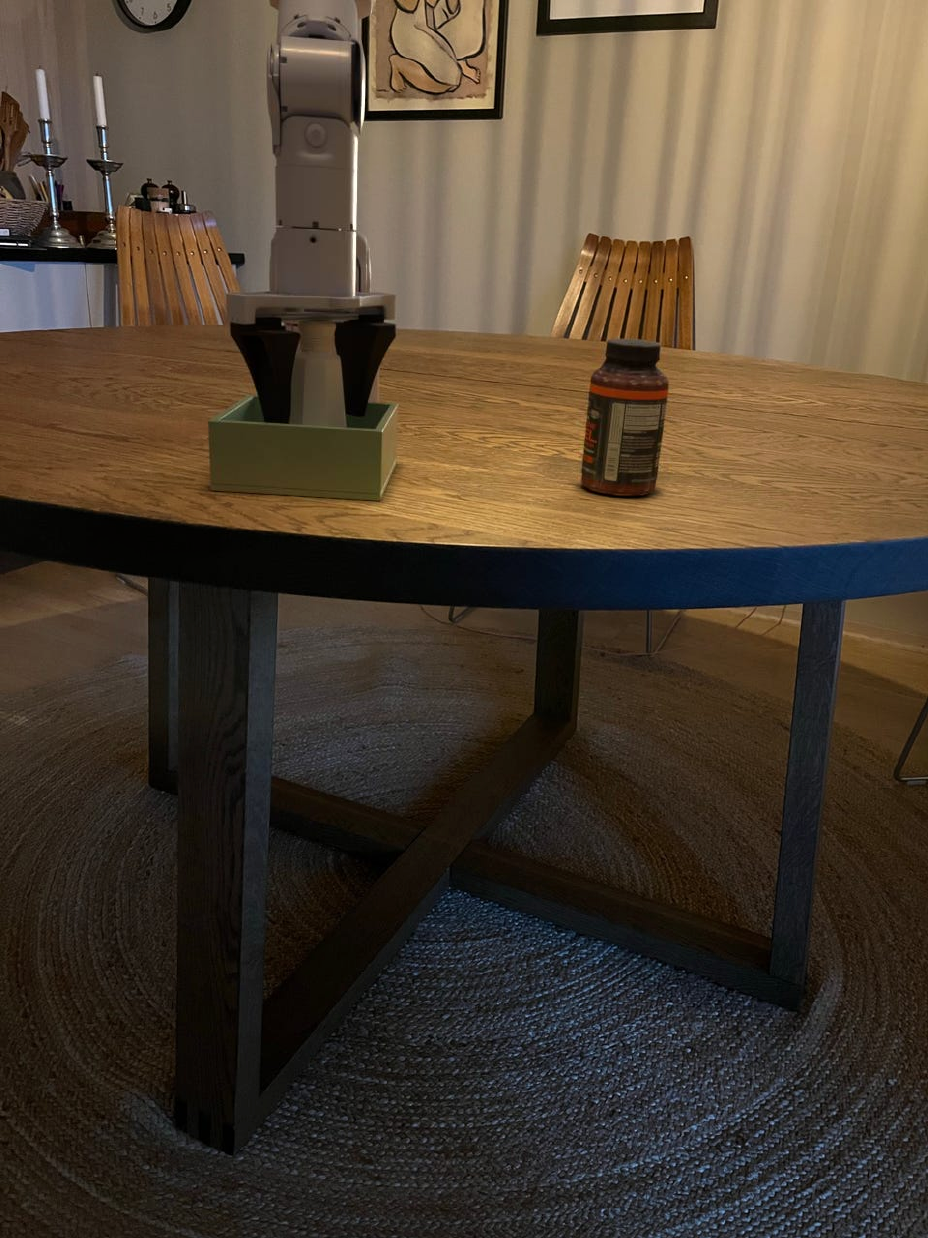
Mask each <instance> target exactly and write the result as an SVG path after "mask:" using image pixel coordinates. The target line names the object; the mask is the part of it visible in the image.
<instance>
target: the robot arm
mask: <svg viewBox="0 0 928 1238" xmlns="http://www.w3.org/2000/svg"><path fill="white" fill-rule="evenodd" d="M376 1H377V0H269V5H270V7H272V8H273V9H275V10H277V11H278V12H277V27H276V30H277V31H276V41H275V42H276V43H275V44H274V45H272V43H269V44H268V47H267V52H266V99H267V112H268V117H269V121H270V129H271V145H272V148H271V149H272V155H274V158H275V163H276V164H275V166H274V174H275V175H274V176H275V177H274V179H275V181H274V183H275V186H274V187H275V232H274V234H273V238H271V241H270V255H269V256H270V257H269V266H268V267H269V268H268V269H269V273H268V274H269V276H268V277H269V278H268V279H269V280H268V281H269V285H268V287H269V290H268V291H250V292H227V293H226V294H225V305H226V322H227V323H229V333H230V336H231V338H232V340H233V342H234V343H235V345H236V346H237V348H238V350H239V352H240V354H241V356H242V358H243V360H244V362H245V364H246V367H247V369H248V371H249V374H250V376H251V380H252V381H253V384H254V388H255V391H256V395H258V398H259V402H260V406H261V409H262V414H263V418H264V422H265V423H280V424H289V420H290V413H291V379H292V372H293V365H294V360H295V355H296V354H297V353H300V352H301V349H299V347H300V342H299V341H300V338H301V334H300V332H299V328H298V322H299V321H328V320H329V321H332V322H334V323H335V324H336V329H335V333H334V336H335V338H334V339H335V340H334V342H335V343H334V351H333V354H336V355H339V356H340V359H341V366H342V378H343V390H344V401H345V413H346V414H347V415H352V416H356V417H364V416H365V412H366V408H367V404H368V402H379V401H380V400H379V397H380V392H379V391H380V366H381V364H382V362H383V360H384V357H385V356H386V353H387V352H388V350H389V349H390V347H391V345H392V343H393V342H394V340H395V338H396V337H397V324H396V323H391V322H385V321H394V320H396V303H397V302H396V301H397V299H396V298H397V295H396V293H387V292H380V291H379V292H378V291H373V292H372V262H371V259H370V258H371V246H370V244H369V243H368V239H367V237H366V236H365V235H364V234H363V233H362V232H361V231H360V230H358V229H357V211H358V210H357V207H358V206H357V205H358V202H357V201H358V200H357V199H358V196H357V195H358V144H359V141H358V140H359V139H358V136H360V135H361V133H362V129H363V125H364V121H365V108H366V106H365V105H366V100H365V99H366V58H365V53H364V47H363V42H362V39H361V38H360V37H358V35H359V33H358V31H359V30H358V21H361V20H363V19H365V18H367V17H369V16H370V15H372V14H373V5H374V4H375V3H376ZM353 123H354V125H355V126H356V127H357V129H358V131H357V133H358V136H357V135H356V134H355V132H354V131H353V130H352V129H351V124H353ZM379 403H380V402H379Z"/></svg>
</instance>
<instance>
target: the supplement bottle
mask: <svg viewBox="0 0 928 1238" xmlns="http://www.w3.org/2000/svg"><path fill="white" fill-rule="evenodd" d="M661 347H662V344H661V343H660V342H656V341H653V340H645V339H639V338H637V339H636V338H610V339H608V340H607V342H606V349H605V354H604V355H605V359H604V361H603V363H602V364H601V366H600V367H599V368H597V369H596V370H594V371H593V372H592V374H591V377H590V381H589V390H588V398H587V409H586V421H585V432H584V439H583V448H582V449H583V452H582V460H581V461H582V462H581V469H580V473H581V477H580V481H581V484H582V485H583V486H584V487H585V488H586V489H588V490H590V491H591V492H595V493H599V494H603V495H611V496H613V497H614V496H615V497H642V496H645V495H647V494H650V493H652V492H653V491H655V489H656V487H657V480H658V474H659V466H660V459H661V452H662V443H663V437H664V429H665V421H666V419H665V418H666V413H667V406H668V405H667V404H668V397H669V389H670V388H669V387H670V384H669V383H670V382H669V379H668V377H667V375H666V374H665V373H664V372H662V371H661V370H660V368H658V366H657V363H658V362H659V361H660V360H661Z"/></svg>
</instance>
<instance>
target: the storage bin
mask: <svg viewBox="0 0 928 1238" xmlns="http://www.w3.org/2000/svg"><path fill="white" fill-rule="evenodd" d="M398 423H399V403H395V402H394V403H393V402H368V404H367V408H366V412H365V416H364V417H356V416H352V415H347V414H346V425H347V428H346V427H330V426H313V425H297V424H280V423H265V422H264V418H263V414H262V409H261V406H260V402H259V398H258V395H257V394H248V395H246V396H244V397H242V398H241V399H240V400H238V401H236V402H235V403H233V404H232V405H230V406H229V407H227V408H225V409H224V410H222V411H221V412H219V413H218V414H216V415H215V416H213V417H212V418H210V419H208V420H207V429H208V453H209V454H208V456H209V457H208V458H209V482H210V485H209V486H210V491H213V492H214V491H215V492H230V493H231V492H232V493H244V494H245V493H246V494H247V493H248V494H260V495H261V494H263V495H264V494H265V495H279V496H296V497H311V498H328V499H346V500H362V501H376V502H380V501H381V500H382V498H383V496H384V493H385V491H386V489H387V486H388V484H389V482H390V480H391V477H392V476H393V473H394V470H395V469H396V466H397V461H398V460H397V459H398V458H397V457H398V430H399V429H398V427H399V425H398Z"/></svg>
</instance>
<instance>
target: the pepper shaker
mask: <svg viewBox="0 0 928 1238" xmlns="http://www.w3.org/2000/svg"><path fill="white" fill-rule="evenodd" d="M298 328H299V332H300V334H301V338H300V341H299V342H300V347H299V349H301V352H300V353H297V354H296V355H295V360H294V365H293V372H292V379H291V413H290V420H289V424H297V425H313V426H330V427H346V428H347V425H346V413H345V401H344V390H343V378H342V366H341V359H340V356H339V355H336V354H333V351H334V343H335V342H334V340H335V339H334V338H335V336H334V333H335V329H336V324H335V323H334V322H332V321H329V320H328V321H299V322H298Z"/></svg>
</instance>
